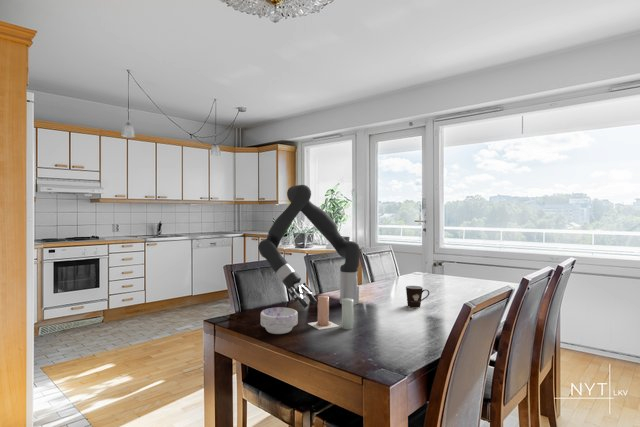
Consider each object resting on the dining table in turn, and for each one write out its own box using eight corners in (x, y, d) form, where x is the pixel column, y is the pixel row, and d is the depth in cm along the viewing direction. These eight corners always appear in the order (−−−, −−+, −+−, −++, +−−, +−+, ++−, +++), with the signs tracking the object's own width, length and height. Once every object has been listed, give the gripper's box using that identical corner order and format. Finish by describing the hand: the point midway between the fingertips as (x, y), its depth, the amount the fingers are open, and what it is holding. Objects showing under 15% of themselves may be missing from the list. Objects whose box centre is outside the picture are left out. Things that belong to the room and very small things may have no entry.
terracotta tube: (325, 322, 175) (325, 294, 175) (330, 324, 171) (330, 297, 171) (315, 323, 173) (315, 296, 173) (321, 326, 169) (321, 298, 168)
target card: (327, 320, 179) (327, 319, 179) (339, 326, 170) (339, 325, 170) (307, 323, 174) (307, 322, 174) (319, 329, 165) (319, 328, 165)
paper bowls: (282, 339, 153) (282, 318, 153) (252, 332, 161) (252, 312, 161) (304, 329, 166) (305, 310, 166) (276, 323, 174) (276, 305, 174)
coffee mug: (404, 307, 205) (404, 287, 205) (407, 303, 213) (407, 285, 213) (427, 309, 201) (427, 289, 201) (429, 305, 209) (429, 286, 209)
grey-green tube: (348, 325, 172) (349, 297, 172) (355, 328, 168) (355, 300, 167) (339, 327, 169) (339, 298, 169) (345, 330, 165) (346, 301, 165)
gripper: (285, 273, 171) (309, 302, 166) (301, 268, 184) (323, 296, 179) (275, 284, 173) (298, 313, 169) (290, 279, 186) (312, 306, 182)
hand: (311, 304), depth 174 cm, fingers open, 8 cm apart
